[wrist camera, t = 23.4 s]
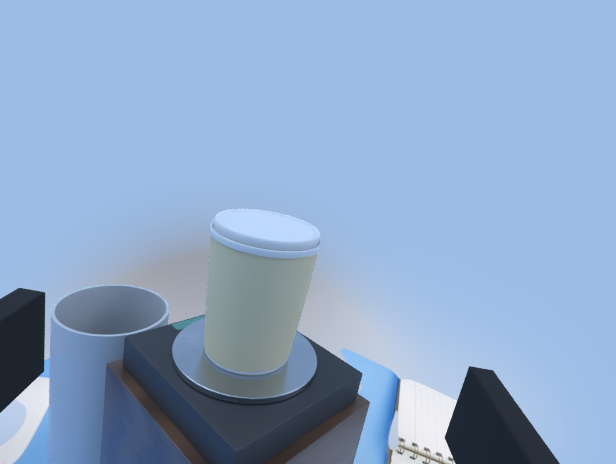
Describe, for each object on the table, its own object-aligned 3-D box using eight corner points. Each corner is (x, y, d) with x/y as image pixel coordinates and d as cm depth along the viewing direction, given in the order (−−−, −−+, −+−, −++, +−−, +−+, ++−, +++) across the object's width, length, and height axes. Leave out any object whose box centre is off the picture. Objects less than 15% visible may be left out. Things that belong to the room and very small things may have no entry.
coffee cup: (316, 351, 39) (342, 232, 35) (254, 399, 31) (281, 251, 28) (241, 313, 43) (259, 203, 40) (171, 346, 35) (185, 213, 32)
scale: (355, 400, 39) (363, 372, 38) (229, 487, 27) (236, 451, 27) (248, 323, 48) (251, 300, 48) (122, 365, 37) (124, 336, 36)
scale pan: (344, 367, 38) (345, 362, 38) (233, 430, 28) (235, 423, 28) (253, 308, 46) (254, 303, 46) (143, 340, 36) (143, 335, 36)
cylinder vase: (170, 457, 59) (189, 303, 52) (106, 535, 47) (119, 349, 41) (100, 426, 62) (109, 276, 55) (22, 492, 50) (22, 312, 44)
